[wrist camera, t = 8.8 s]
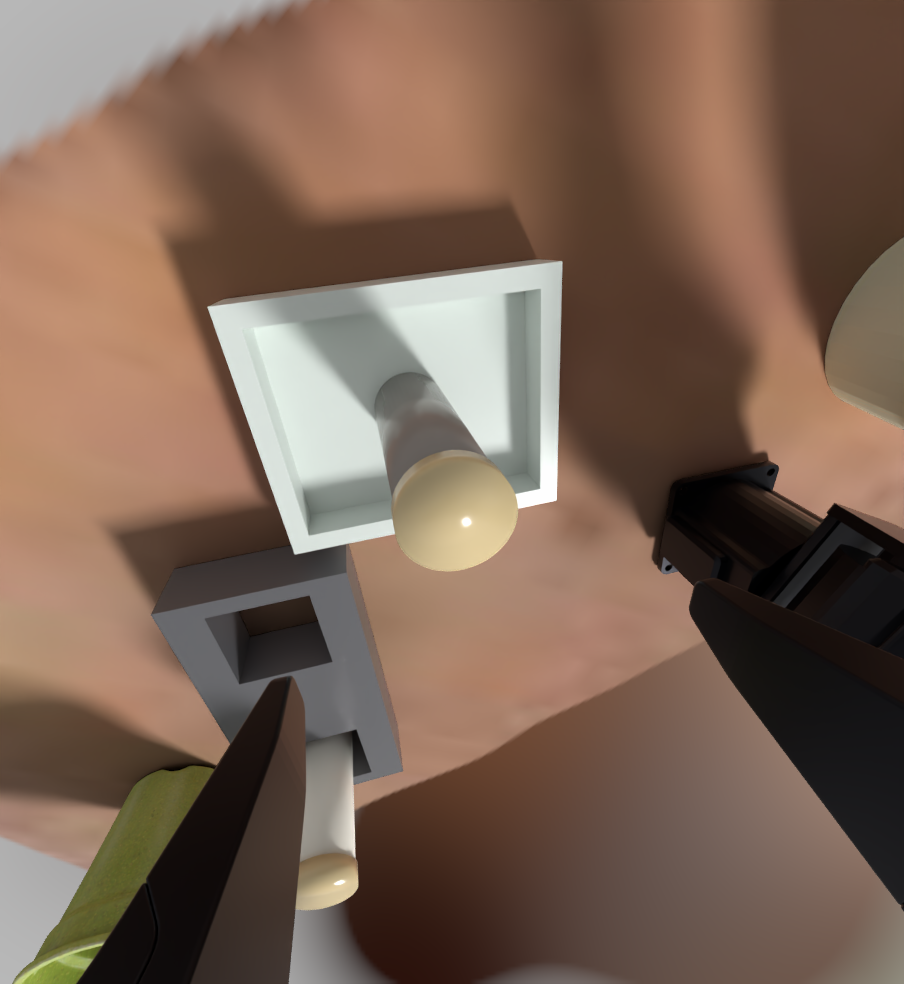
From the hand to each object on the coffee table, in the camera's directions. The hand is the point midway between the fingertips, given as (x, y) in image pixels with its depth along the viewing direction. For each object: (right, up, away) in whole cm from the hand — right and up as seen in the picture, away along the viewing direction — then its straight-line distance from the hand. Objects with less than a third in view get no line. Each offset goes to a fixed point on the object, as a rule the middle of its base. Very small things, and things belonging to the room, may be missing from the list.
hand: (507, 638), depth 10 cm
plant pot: (-18, -16, +19) cm, 31 cm away
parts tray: (-3, +7, +10) cm, 12 cm away
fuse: (-9, -11, +18) cm, 23 cm away
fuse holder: (-9, -7, +16) cm, 20 cm away
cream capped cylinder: (-3, +7, +9) cm, 12 cm away
